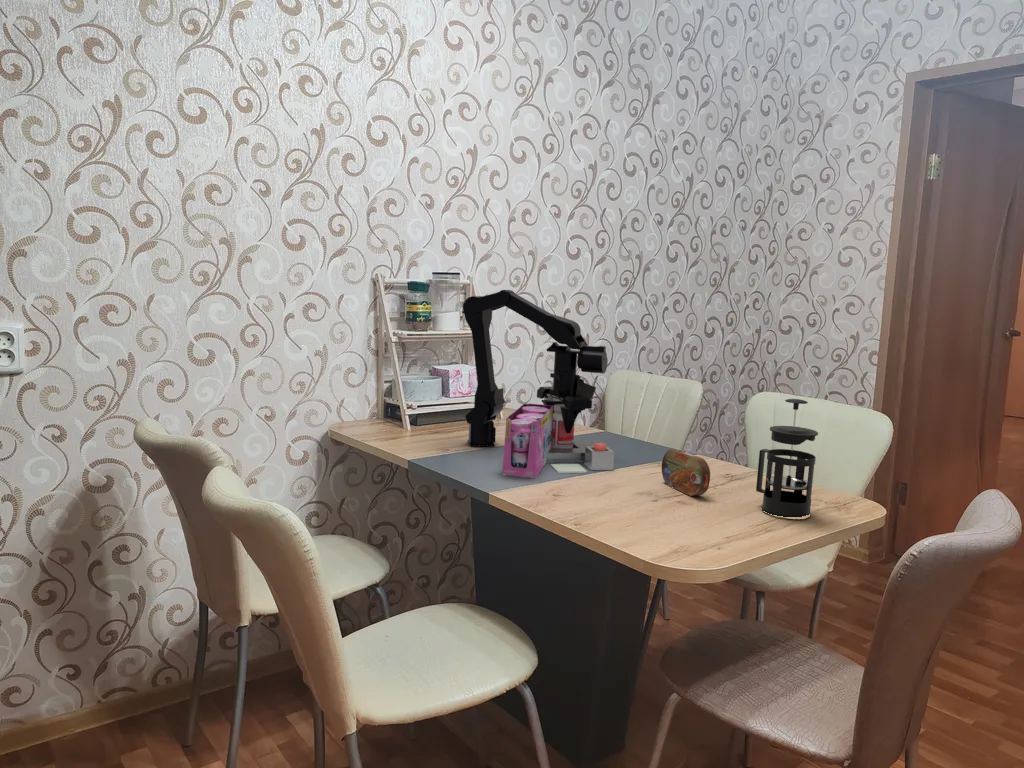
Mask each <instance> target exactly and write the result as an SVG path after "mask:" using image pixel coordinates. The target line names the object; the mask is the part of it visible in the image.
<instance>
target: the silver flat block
mask: <svg viewBox="0 0 1024 768" xmlns="http://www.w3.org/2000/svg"><path fill="white" fill-rule="evenodd" d="M585 446H594V443H593V442H591V440H573V448H550V449H549V451H548V452H547V457H546V464H552V463H551V462H556V463H555V464H579V463H581V464H582V463H584V464H585ZM558 462H559V463H558ZM561 462H562V463H561Z"/></svg>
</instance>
